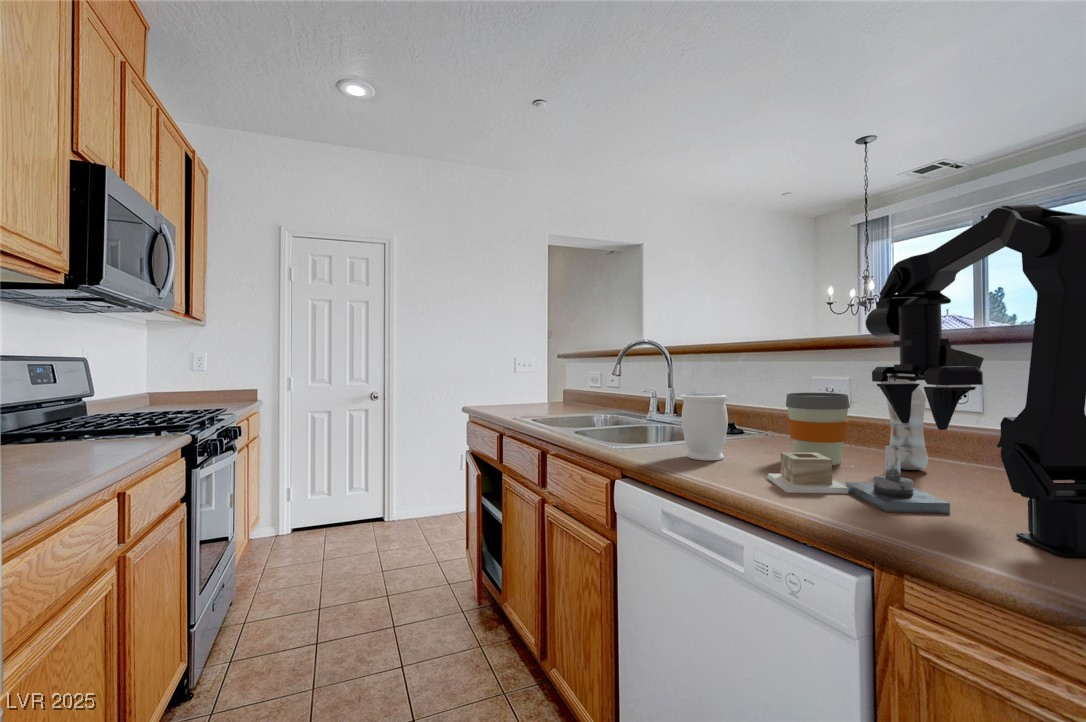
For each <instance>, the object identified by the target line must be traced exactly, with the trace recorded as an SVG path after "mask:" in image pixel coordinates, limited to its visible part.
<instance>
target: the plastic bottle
mask: <svg viewBox="0 0 1086 722" xmlns="http://www.w3.org/2000/svg"><path fill="white" fill-rule="evenodd" d="M918 381H919V380H917V381H909V383H917V382H918ZM886 402H887V408H888V409H887V410H888V415H889V422H890V438H889V445H888V446H898V447H900V469H901V470H904V471H922V470H925V468H927V466H928V463H929V457H928V451H927V448H926V442H925V435H924V417H925V415H924V414H925V411H926V410H925V409H926V402H927V397H926V394H925V392H924V391H923V390H922V388H920V387H919V386H918V387H917V388H916V389H915V390H914V391H913V393H912V400H911V413H910V420H909V423H902V422H901V421H900V419H899V418H898V416H897V414H896V412H895V411H894V409H893V407H892V406H891V404H890V402H889V401H888V399H887V398H886Z"/></svg>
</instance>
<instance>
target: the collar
mask: <svg viewBox="0 0 1086 722" xmlns="http://www.w3.org/2000/svg"><path fill="white" fill-rule="evenodd" d="M780 474H781V476H782V477H783V478H785V479H786V480H788V481H789V482H791V483H792V484H794V485H832V479H833V465H832V459H830V458H828V457H825V456H823V455H821V454H819V453H816V452H793V451H791V452H789V451H788V452H787V451H785V452H784V451H782V452H780Z"/></svg>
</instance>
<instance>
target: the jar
mask: <svg viewBox="0 0 1086 722" xmlns="http://www.w3.org/2000/svg"><path fill="white" fill-rule="evenodd" d="M680 398H681V400H682V401H683V404H682V408H681V427H682V432H683V438H684V443H685V445H686V447H687V449H688V451H687V452H686V457H687V458H689V459H692V460H696V461H705V462H706V461H707V462H708V461H709V462H712V461H720V460H724V458H725V456H724V454H723V452H722V451H723V449H724V448H725V444H726V440H727V431H728V425H729V424H728V423H729V417H728V410H727V409H728V408H727V405H726V401H727V400H728V396H727V394H722V393H686V394H685V393H684V394H681V397H680Z"/></svg>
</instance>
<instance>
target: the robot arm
mask: <svg viewBox="0 0 1086 722" xmlns="http://www.w3.org/2000/svg"><path fill="white" fill-rule="evenodd" d="M1004 248H1007V249H1009V250H1013V251H1015V252H1018V253H1019V254H1021V263H1022V264H1021V265H1022V272H1023V274H1024V275H1025V277H1026V278H1027V280H1028V281H1029V283H1030V284H1031V286H1032V287H1033V289H1034V290H1035V291H1036V304H1035V316H1034V323H1033V324H1034V325H1033V334H1032V335H1033V336H1032V344H1031V352H1030V353H1031V354H1030V362H1029V371H1028V372H1029V373H1028V380H1027V391H1026V399H1025V400H1026V401H1025V407H1024V408H1023V409H1022V410H1021V412H1020V413H1019V414H1017V416H1006V417H1003V418H1002V420H1001V422H1000V423H999V424H1000V426H999V427H1000V437H999V442H998V443H997V444H996V446H997V448H998V449H999V448H1000V458H1001V462H1002V464H1003V466H1004V470H1005V474H1006V476H1007V479H1008V482H1009V486H1010V489H1011V491H1012V492H1013V493H1016V494H1018V495H1020V496H1021V497H1022V498H1027V499H1028V501H1027V522H1028V523H1027V524H1028V530H1027V531H1028V532H1026V533H1025V532H1016V534H1015V535H1016V538H1018V539H1020V540H1022V541H1025V542H1026V543H1029V544H1032V545H1034V546H1036V547H1038V548H1040V549H1042V550H1044V551H1048V552H1050V553H1052V554H1054V555H1056V556H1059V557H1064V558H1065V557H1066V558H1086V414H1085V407H1086V214H1079V213H1074V212H1068V211H1067V212H1066V211H1061V210H1054V209H1051V208H1047V207H1045V206H1044V207H1043V206H1039V205H1037V204H1019V205H1018V204H1016V205H1013V204H1012V205H1001V206H999V207H996V208H993V209H992V210H991V211H990V212H989V213H988V215H987V216H985V217H984V218H983V219H981V220H980V221H978V222H976V223H975V224H973V225H971V226H970V227H969V228H967V229H965V230H964V231H962V232H960V233H959V234H957V235H956V236H954V237H953V238H951V239H950V240H948V241H946V242H944V243H943V244H941V245H940V246H938V247H937V248H935V249H933V250H930V251H928V252H926V253H921V254H917V255H912V256H909V257H907V258H903V259H902V260H899V261H897V262H896V263H895V264H894V265H893V267H892V268H891V270H890V272H889V273H888V276H887V279H886V281H885V283H884V286H882V289H880V292H879V295H880V296H879V298H878V301H876V303H875V308H874V309H872V310H871V311H870V312H869V313H868V315H867V317H866V319H865V327H866V329H867V331H868V332H869V333H870V334H871V335H872V336H873V337H877V338H889V337H898V340H893V341H892V342H893V347H894V348H898V347H899V364H896V363H895V364H893V366H891V365H889V366H876V367H875V368H874V369H873V370H872V371H871V380H872V382H877V383H876V387H879V389H880V390H881V392H882V393H883V395H884V396H885V398H886V400H887V399H888V401H889V402H890V404H891V406H892V407H893V409H894V411H895V412H896V414H897V416H898V418H899V419H900V421H901V422H902V423H909V420H910V413H911V400H912V393H913V391H914V390H915V389H916V388H917V387H919V386H920V383H917V382H918V381H924V382H925V383H926V385H928V386H923V390H924V391H923V392H924V395H925V397H926V400H927V402H928V405H929V408H930V410H931V413H932V417H933V420H934V422H935V426H936V427H937V430H938V431H947V429H948V427H949V425H950V423H951V420H952V417H953V415H954V413H955V410H956V408H957V406H958V404H959V402H960V400H961V398H962V397H963V396H965V395H966V394H968V393H969V392H971V391H975V390H976V389H977V387H976V386H977V385H978V386H981V385H982V386H983V385H984V373H983V371H982V370H981V368H982V365H983V362H984V357H982V356H980V355H979V356H978V355H975V354H973V353H969V352H966V351H963V350H959V349H955V348H952V342H951V340H950V338H943V333H942V332H943V327H942V324H943V323H942V305H948V304H950V303H951V302H952V300H951V298H950V297H949V296H947V295H944V293H942V291H944V290H945V289H946V288H948V287H949V286H951V285H952V284H953V283H954V282H955V281H956V278H957V274H958V273H960V272H961V271H962V270H965V269H966V268H969V267H970V266H973V265H974V264H976V263H978V262H979V261H982V260H983V259H986V258H987V257H989V256H990V255H993V254H995V253H996V252H998V251H1000V250H1002V249H1004ZM917 380H918V381H917ZM909 381H916V383H909ZM878 382H880V383H878ZM929 385H930V386H929ZM1068 481H1069V482H1068Z"/></svg>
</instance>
